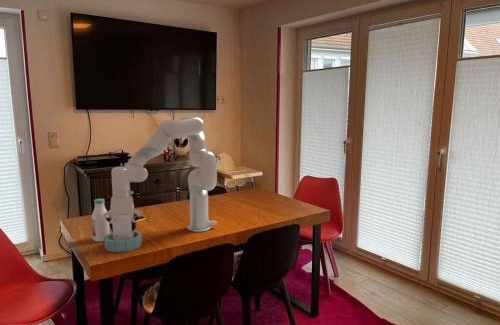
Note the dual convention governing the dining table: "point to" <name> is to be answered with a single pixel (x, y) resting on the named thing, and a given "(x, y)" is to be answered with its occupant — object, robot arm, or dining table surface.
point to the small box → (122, 227)
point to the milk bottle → (99, 221)
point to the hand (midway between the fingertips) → (123, 230)
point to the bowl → (122, 243)
